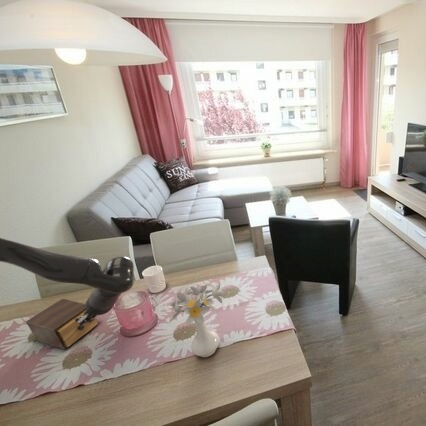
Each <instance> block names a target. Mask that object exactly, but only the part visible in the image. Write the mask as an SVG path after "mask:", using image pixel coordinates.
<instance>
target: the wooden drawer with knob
mask: <svg viewBox="0 0 426 426" xmlns="http://www.w3.org/2000/svg"><path fill="white" fill-rule="evenodd" d="M85 311H86V310H85ZM85 311H83V312H82V313H80V314H79V315H78V316H76V317H75V318H73V319H72V320H70V321H69V322H68V323H66V324H65V325H63V326H62V327H61V328H59V329H58V330H57V332H58V333H59V335H60V337H61V339H62V341H63V342H64V344H65V346H66V347H68V348H69V347H70V346H72V345H73V344H74V343H76V342H77V341H78V340H79V339H80V338H82V337H83V336H84V335H86V334H87V333H88V332H90V331H91V330H92V329H94V328H95V327H96V326H97V325H99V322H98V320H97V317H96V318H95V319H94V320H93V321H92V322H91V323H86V324H84V325H80V324H78V323H77V322H76V321H75V320H76V318H78V317H80V316H84V312H85ZM97 322H98V323H97Z"/></svg>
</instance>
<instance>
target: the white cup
mask: <svg viewBox="0 0 426 426" xmlns="http://www.w3.org/2000/svg"><path fill="white" fill-rule="evenodd" d="M141 274H142V277H143V279H144V282H145V284H146V286H147V288H148V291H149V292H150V293H151V294H158V293H161V292H162V291H164V290H166V288H167V284H166V278H165V274H164V270H163V267H162V266H161V265H151V266H149V267H147V268H145V269H144V270H142V272H141Z"/></svg>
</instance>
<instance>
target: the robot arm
mask: <svg viewBox="0 0 426 426" xmlns="http://www.w3.org/2000/svg"><path fill="white" fill-rule="evenodd" d="M0 262H1V263H4V264H9V265H13V266H16V267H18V268H21V269H23V270H26V271H27V272H30V273H32V274H34V275H35V276H37V277H40V278H42V279H45V280H48V281H51V282H55V283H64V284H75V285H77V284H78V285H85V286H88V287H91V288H94V289H93V290H92V291H91V293H90V295H89V297H88V298H87V300H86V302H85V304H86V311H85V312H84V316H80V317H78V318H76V320H75V321H76V322H77V323H78V324H80V325H84V324H86V323H91V322H92V321H93V320H94V319H95V318H96V319H97V318H98V317H99V316H103V315H105V314H108V313H109V312H110V311H111V310H112V309H113V308H114V306H115V305H116V303H117V302H118V300H119V298H120V296H122V294H123V293H126V292H128V291H130V290H131V289H132V288H133V286H134V283H135V282H134V281H135V280H134V278H135V277H134V275H135V274H134V271H135V270H134V269H135V268H134V267H135V265H134V261H133V260H132V259H131V258H129V256H128V257H127V256H124V255H122V256H121V255H120V256H115V257H112V258H111V259H109V260H108V261H107V262H105V264H104V267H103V268H102V266H101V263H100V261H99V260H98V259H96V258H92V257H86V256H80V255H79V256H78V255H72V254H66V253H59V252H55V251H50V250H46V249H42V248H38V247H34V246H31V245H28V244H24V243H20V242H18V241H17V242H16V241H13V240H10V239H6V238H2V237H0Z"/></svg>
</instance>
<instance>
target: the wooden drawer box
mask: <svg viewBox="0 0 426 426" xmlns="http://www.w3.org/2000/svg"><path fill="white" fill-rule="evenodd" d="M85 310H86V303H82V302H79V301H74V300H70V299H66V298H61V299H60V300H57V301H56V302H55V303H53V304H52V305H49V306H48V307H47V308H45V309H43V310H42V311H40V312H38V313H37V314H36V315H34V316H32V317H31V318H29V319H27V320H26V321H25V323H26V324H27V326H28V328H29V330H30V331H31V333H32V334H33V336H34V338H35V340H36V341H37V342H40V343H43V344H45V345H50V346H52V347H55V348H58V349H61V350H67V349H68V348H69V347H66V346H65V344H64V342H63V341H62V339H61V337H60V335H59V333H58V332H57V330H58V329H59V328H61V327H62V326H63V325H65V324H66V323H68V322H69V321H70V320H72V319H73V318H75V317H76V316H78V315H79V314H80V313H82V312H83V311H85ZM97 323H98V324H99V322H98V321H97Z"/></svg>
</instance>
